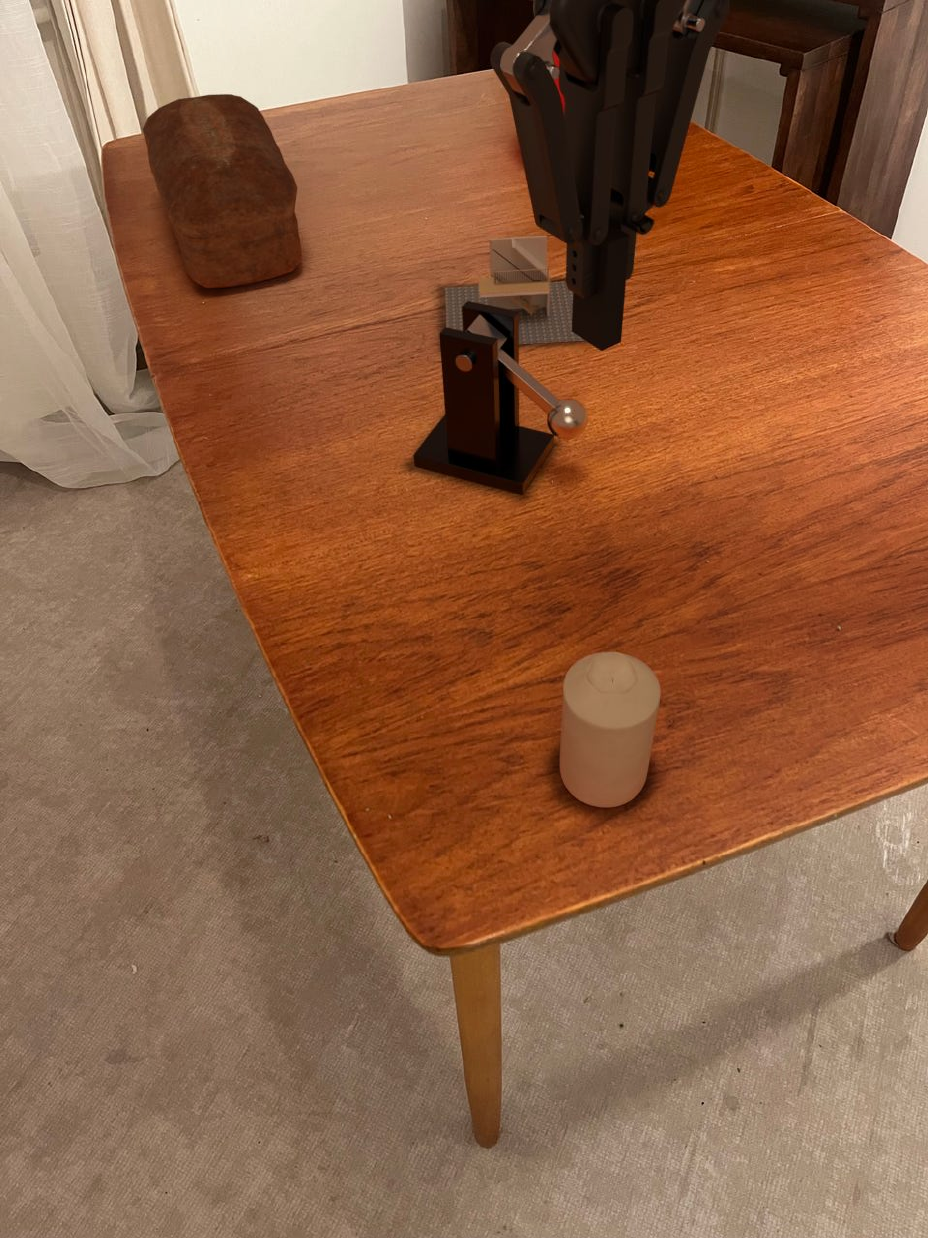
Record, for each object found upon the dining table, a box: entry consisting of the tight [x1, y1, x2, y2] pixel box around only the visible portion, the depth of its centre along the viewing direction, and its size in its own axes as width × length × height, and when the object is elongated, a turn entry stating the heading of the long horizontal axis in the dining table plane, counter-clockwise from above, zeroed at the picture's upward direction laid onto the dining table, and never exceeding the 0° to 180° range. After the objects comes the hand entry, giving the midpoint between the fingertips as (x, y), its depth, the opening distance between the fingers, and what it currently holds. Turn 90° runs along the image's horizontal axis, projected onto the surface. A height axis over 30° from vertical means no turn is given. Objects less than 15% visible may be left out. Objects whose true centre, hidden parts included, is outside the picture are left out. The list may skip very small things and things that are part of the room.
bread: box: [142, 93, 303, 289], centre depth 108 cm, size 14×28×12 cm, turn 19°
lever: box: [466, 315, 589, 441], centre depth 76 cm, size 12×3×3 cm
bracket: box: [412, 301, 555, 495], centre depth 79 cm, size 10×7×13 cm
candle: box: [559, 651, 662, 808], centre depth 58 cm, size 6×6×10 cm
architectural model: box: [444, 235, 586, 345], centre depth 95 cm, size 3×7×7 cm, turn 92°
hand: (596, 336), depth 58 cm, fingers closed
